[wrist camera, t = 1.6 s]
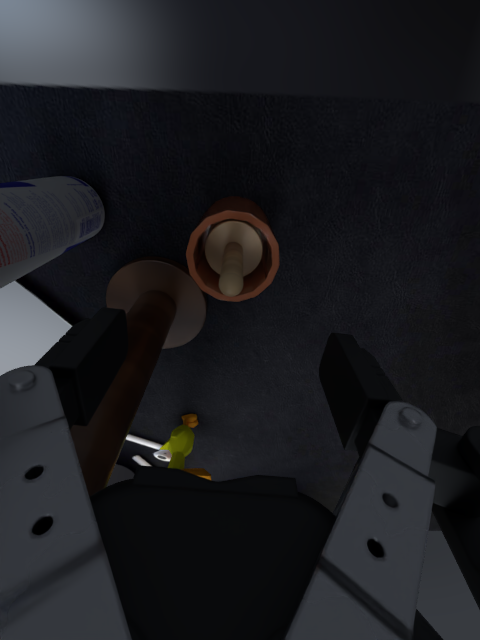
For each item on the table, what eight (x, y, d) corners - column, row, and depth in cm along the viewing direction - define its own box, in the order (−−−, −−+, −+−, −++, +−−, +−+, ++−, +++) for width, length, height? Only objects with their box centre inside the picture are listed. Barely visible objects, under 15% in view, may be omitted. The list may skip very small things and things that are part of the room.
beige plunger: (211, 205, 25) (189, 242, 15) (264, 211, 25) (280, 253, 15) (207, 256, 27) (187, 321, 17) (256, 262, 27) (265, 329, 17)
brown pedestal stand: (89, 234, 27) (-566, 584, 5) (225, 251, 27) (166, 619, 6) (104, 346, 33) (-159, 717, 11) (215, 357, 34) (167, 725, 12)
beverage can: (40, 174, 24) (-192, 199, 11) (101, 174, 24) (-61, 199, 11) (59, 236, 27) (-113, 314, 14) (114, 236, 27) (-6, 314, 14)
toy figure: (214, 407, 38) (203, 504, 27) (218, 426, 39) (210, 523, 29) (163, 412, 38) (134, 508, 28) (170, 430, 40) (145, 527, 30)
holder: (201, 191, 25) (187, 205, 18) (276, 201, 25) (288, 218, 19) (197, 263, 28) (184, 296, 22) (264, 270, 28) (271, 305, 22)
